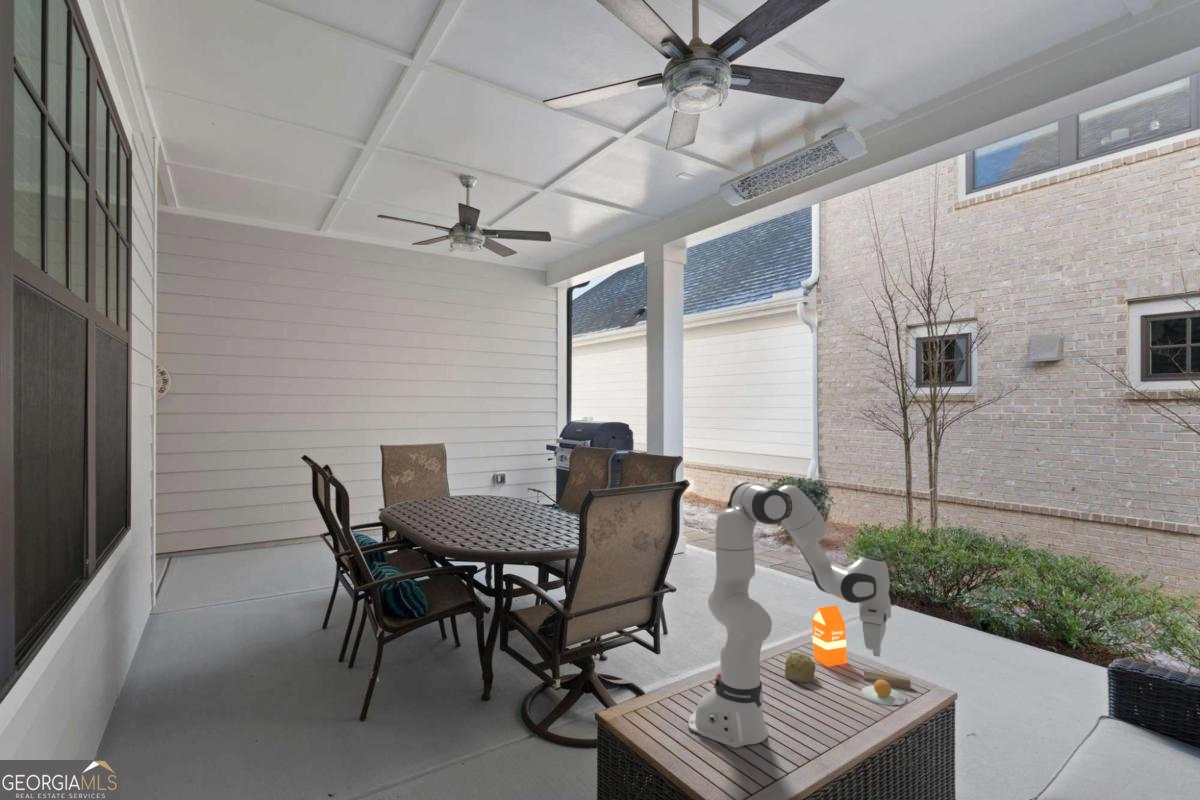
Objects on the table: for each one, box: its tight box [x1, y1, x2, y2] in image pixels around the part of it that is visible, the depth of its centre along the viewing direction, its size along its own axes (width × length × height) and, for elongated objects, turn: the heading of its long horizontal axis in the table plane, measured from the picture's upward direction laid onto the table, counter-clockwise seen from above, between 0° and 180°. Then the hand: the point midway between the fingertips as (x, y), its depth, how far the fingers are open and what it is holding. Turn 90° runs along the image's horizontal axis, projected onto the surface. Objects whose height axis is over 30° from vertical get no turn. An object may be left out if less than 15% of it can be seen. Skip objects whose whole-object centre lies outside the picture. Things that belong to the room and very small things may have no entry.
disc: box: [861, 685, 907, 707], centre depth 174 cm, size 13×13×1 cm
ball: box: [873, 680, 892, 697], centre depth 174 cm, size 5×5×5 cm
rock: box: [784, 652, 816, 684], centre depth 188 cm, size 10×11×10 cm
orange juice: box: [811, 605, 848, 667], centre depth 201 cm, size 8×9×20 cm
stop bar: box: [863, 668, 912, 690], centre depth 182 cm, size 2×14×3 cm, turn 57°
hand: (877, 654), depth 165 cm, fingers closed
